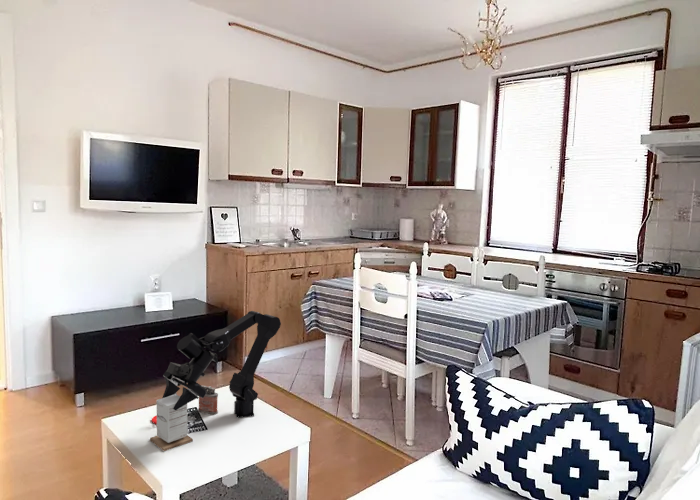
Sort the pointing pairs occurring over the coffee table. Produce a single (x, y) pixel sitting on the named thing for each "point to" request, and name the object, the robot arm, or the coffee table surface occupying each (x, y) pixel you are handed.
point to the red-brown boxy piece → (208, 402)
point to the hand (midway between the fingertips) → (168, 406)
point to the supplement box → (171, 419)
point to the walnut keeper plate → (166, 446)
